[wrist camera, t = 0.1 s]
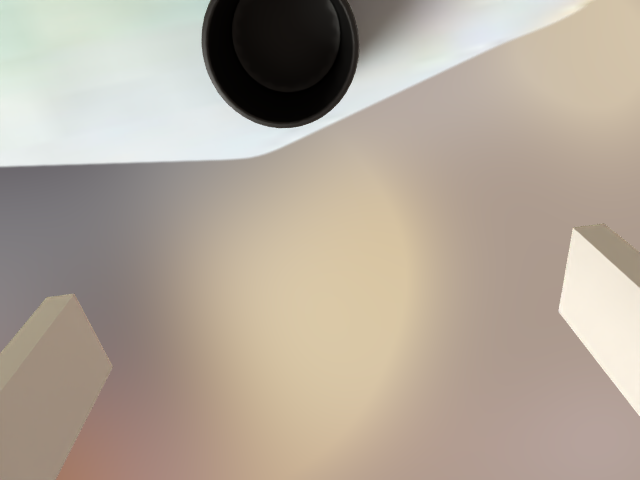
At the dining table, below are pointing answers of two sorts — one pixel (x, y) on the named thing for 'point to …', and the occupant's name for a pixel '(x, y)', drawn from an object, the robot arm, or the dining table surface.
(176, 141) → the dining table surface
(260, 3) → the mug
